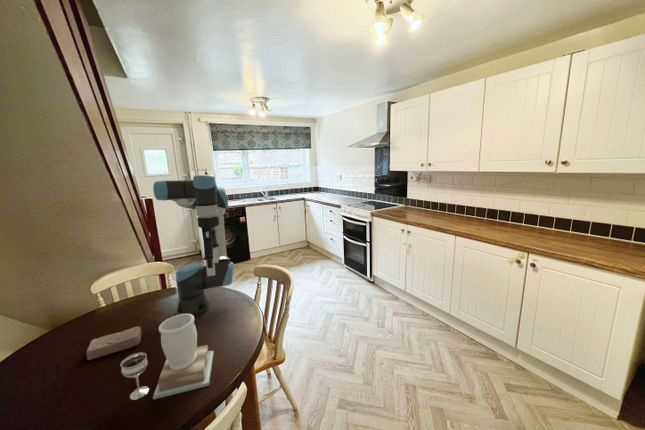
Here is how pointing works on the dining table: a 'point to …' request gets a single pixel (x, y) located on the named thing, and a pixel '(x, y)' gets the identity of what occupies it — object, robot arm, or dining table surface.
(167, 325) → the jar
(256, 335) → the dining table surface
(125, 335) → the brick
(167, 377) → the plinth
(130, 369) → the wineglass
